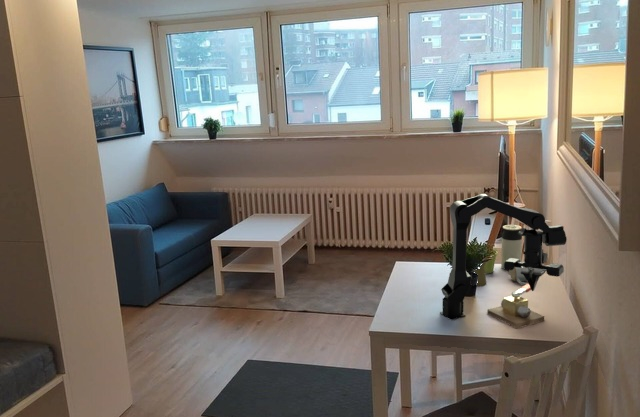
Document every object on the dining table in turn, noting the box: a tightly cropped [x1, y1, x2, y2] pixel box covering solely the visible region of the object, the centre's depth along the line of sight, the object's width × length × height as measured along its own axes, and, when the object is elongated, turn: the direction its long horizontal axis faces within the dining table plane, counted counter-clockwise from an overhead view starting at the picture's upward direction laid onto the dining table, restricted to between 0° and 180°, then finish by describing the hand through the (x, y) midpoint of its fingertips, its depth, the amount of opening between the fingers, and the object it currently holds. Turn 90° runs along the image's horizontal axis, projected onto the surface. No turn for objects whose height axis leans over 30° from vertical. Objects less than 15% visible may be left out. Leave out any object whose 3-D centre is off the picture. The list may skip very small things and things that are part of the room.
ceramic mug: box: [508, 261, 535, 287], centre depth 230 cm, size 11×8×8 cm
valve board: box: [486, 305, 545, 329], centre depth 198 cm, size 12×14×2 cm
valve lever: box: [511, 284, 532, 298], centre depth 200 cm, size 12×3×1 cm, turn 135°
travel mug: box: [500, 224, 523, 270], centre depth 246 cm, size 8×8×18 cm
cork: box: [474, 262, 487, 287], centre depth 230 cm, size 6×6×11 cm
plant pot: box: [484, 249, 498, 274], centre depth 244 cm, size 9×9×9 cm
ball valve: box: [500, 295, 531, 318], centre depth 197 cm, size 6×10×6 cm, turn 25°
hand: (532, 290), depth 201 cm, fingers closed
